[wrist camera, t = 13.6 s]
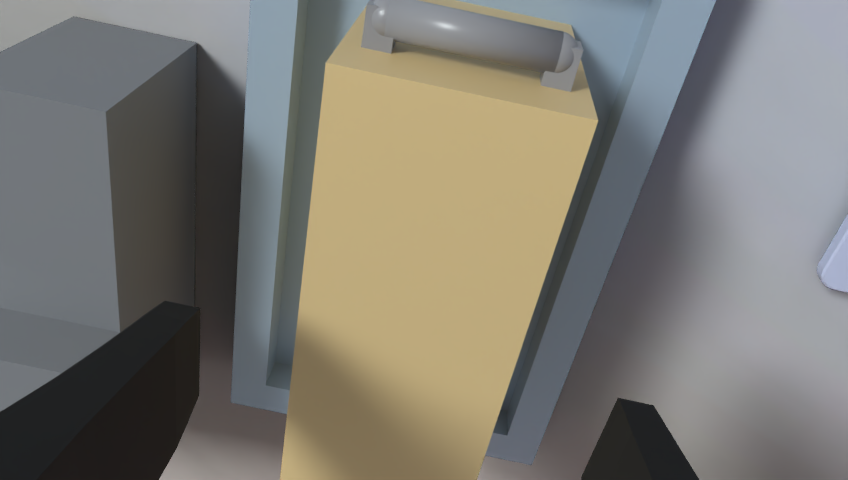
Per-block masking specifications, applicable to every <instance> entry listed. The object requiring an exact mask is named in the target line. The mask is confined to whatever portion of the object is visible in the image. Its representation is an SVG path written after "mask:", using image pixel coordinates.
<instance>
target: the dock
mask: <svg viewBox="0 0 848 480" xmlns="http://www.w3.org/2000/svg"><path fill="white" fill-rule="evenodd" d="M196 61H197V43H195V42H191V41H186V40H181V39H177V38H172V37H167V36H162V35H158V34H153V33H148V32H144V31H139V30H134V29H130V28H125V27H120V26H116V25H111V24H106V23H101V22H97V21H92V20H87V19H83V18H78V17H72V18H70V19H67V20H65V21H63V22H61V23H59V24H57V25H55V26H53V27H51V28H49V29H47V30H45V31H43V32H41V33H39V34H36V35H34V36H32V37H30V38H28V39H26V40H24V41H22V42H20V43H18V44H16V45H14V46H12V47H10V48H7V49H5V50H3V51H1V52H0V411H2V410H4V409H5V408H7V407H9V406H10V405H12V404H13V403H15V402H17V401H18V400H20V399H22V398H23V397H25V396H26V395H28V394H30V393H31V392H33V391H34V390H36V389H38V388H39V387H41V386H42V385H44V384H46V383H47V382H49V381H50V380H52V379H53V378H55V377H57V376H58V375H60V374H61V373H63V372H64V371H65V370H67V369H68V368H70V367H71V366H73V365H74V364H76V363H77V362H79V361H80V360H82V359H83V358H84V357H86V356H87V355H89V354H90V353H92V352H93V351H95V350H96V349H98V348H99V347H100V346H102V345H103V344H105V343H106V342H107V341H109V340H110V339H112V338H113V337H114V336H116V335H117V334H119V333H120V332H121V331H123V330H124V329H125V328H127V327H128V326H130V325H131V324H132V323H134V322H135V321H136V320H138V319H139V318H141V317H142V316H143V315H145V314H146V313H147V312H149V311H150V310H152V309H153V308H154V307H156V306H157V305H159V304H160V303H162V302H164V301H169V302H174V303H178V304H183V305H188V306H192V307H194V286H195V174H196Z"/></svg>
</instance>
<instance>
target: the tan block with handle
mask: <svg viewBox="0 0 848 480" xmlns="http://www.w3.org/2000/svg"><path fill="white" fill-rule="evenodd" d="M582 53H583V47H582V44H581V41H576V40H575V37H574V33H573V30H572V26H571V25H569V24H565V23H560V22H555V21H551V20H546V19H541V18H537V17H532V16H527V15H523V14H518V13H513V12H509V11H504V10H499V9H495V8H490V7H485V6H481V5H476V4H471V3H467V2H462V1H457V0H369V2H368V3H367V5H366V7H365V8H364V10H363V11H362V12H361V14H360V15H359V17H358V18H357V19H356V21H355V22H354V24H353V25H352V26H351V28H350V29H349V31H348V32H347V34H346V35H345V36H344V38H343V39H342V41H341V42H340V43H339V45H338V46H337V48H336V49H335V50H334V52H333V53H332V55H331V56H330V57H329V59H328V60H327V62H326V65H325V74H324V83H323V92H322V101H321V110H320V119H319V128H318V137H317V147H316V156H315V165H314V174H313V183H312V192H311V201H310V210H309V219H308V228H307V238H306V247H305V256H304V265H303V274H302V283H301V292H300V301H299V310H298V319H297V329H296V338H295V347H294V356H293V365H292V374H291V383H290V392H289V401H288V410H287V419H286V429H285V438H284V447H283V456H282V465H281V474H280V480H477V477H478V475H479V472H480V469H481V466H482V463H483V460H484V457H485V454H486V451H487V448H488V445H489V442H490V439H491V436H492V433H493V430H494V427H495V424H496V421H497V418H498V416H499V413H500V410H501V407H502V404H503V401H504V398H505V395H506V392H507V389H508V386H509V383H510V380H511V377H512V374H513V371H514V368H515V365H516V362H517V359H518V357H519V354H520V351H521V348H522V345H523V342H524V339H525V336H526V333H527V330H528V327H529V324H530V321H531V318H532V315H533V312H534V309H535V306H536V303H537V300H538V298H539V295H540V292H541V289H542V286H543V283H544V280H545V277H546V274H547V271H548V268H549V265H550V262H551V259H552V256H553V253H554V250H555V247H556V244H557V241H558V239H559V236H560V233H561V230H562V227H563V224H564V221H565V218H566V215H567V212H568V209H569V206H570V203H571V200H572V197H573V194H574V191H575V188H576V185H577V182H578V180H579V177H580V174H581V171H582V168H583V165H584V162H585V159H586V156H587V153H588V150H589V147H590V144H591V141H592V138H593V135H594V132H595V129H596V126H597V123H598V117H597V114H596V110H595V107H594V103H593V100H592V96H591V93H590V89H589V86H588V82H587V79H586V75H585V72H584V68H583V65H582V61H581V57H582Z"/></svg>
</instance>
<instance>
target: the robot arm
mask: <svg viewBox="0 0 848 480" xmlns="http://www.w3.org/2000/svg"><path fill="white" fill-rule="evenodd" d="M817 274H818V277H819V278H820V280H821V281H822V283H823V284H824V285H825V286H826V287H828V288H830V289H833V290H837V291H842V292H847V293H848V214H847V216H846V218H845V220H844V221H843V223H842V225H841V226H840V228H839V230H838V231H837V233H836V235H835V237H834V238H833V240H832V242H831V243H830V245H829V247H828V248H827V250H826V252H825V254H824V255H823V257H822V259H821V260H820V262H819V264H818V267H817ZM199 363H200V308H197V307H192V306H188V305H183V304H178V303H174V302H169V301H164V302H162V303H160V304H159V305H157V306H156V307H154V308H153V309H152V310H150V311H149V312H147V313H146V314H145V315H143V316H142V317H141V318H139V319H138V320H136V321H135V322H134V323H132V324H131V325H130V326H128V327H127V328H125V329H124V330H123V331H121V332H120V333H119V334H117V335H116V336H114V337H113V338H112V339H110V340H109V341H107V342H106V343H105V344H103V345H102V346H100V347H99V348H98V349H96V350H95V351H93V352H92V353H90V354H89V355H87V356H86V357H84V358H83V359H82V360H80V361H79V362H77V363H76V364H74V365H73V366H71V367H70V368H68V369H67V370H65V371H64V372H63V373H61V374H60V375H58V376H57V377H55V378H53V379H52V380H50V381H49V382H47V383H46V384H44V385H42V386H41V387H39V388H38V389H36V390H34V391H33V392H31V393H30V394H28V395H26V396H25V397H23V398H22V399H20V400H18V401H17V402H15V403H13V404H12V405H10V406H9V407H7V408H5V409H4V410H2V411H0V480H159V478H160V476H161V475H162V473H163V471H164V469H165V468H166V466H167V464H168V462H169V461H170V459H171V457H172V455H173V453H174V452H175V450H176V448H177V446H178V443H179V441H180V439H181V437H182V434H183V432H184V430H185V428H186V425H187V423H188V420H189V418H190V416H191V413H192V411H193V408H194V406H195V404H196V401H197V399H198V396H199ZM582 480H699V479H698V477H697V475H696V474H695V472H694V471H693V469H692V467H691V466H690V464H689V462H688V461H687V459H686V458H685V456H684V454H683V453H682V451H681V450H680V448H679V446H678V445H677V443H676V441H675V440H674V438H673V436H672V435H671V433H670V432H669V430H668V428H667V427H666V425H665V423H664V422H663V420H662V418H661V417H660V415H659V414H658V412H657V410H656V409H655V407H654V406H653V405H649V404H644V403H639V402H635V401H630V400H625V399H621V398H618V399H617V401H616V403H615V406H614V408H613V410H612V412H611V414H610V416H609V419H608V421H607V423H606V425H605V427H604V429H603V432H602V434H601V436H600V438H599V440H598V442H597V445H596V447H595V449H594V451H593V453H592V455H591V458H590V460H589V462H588V464H587V466H586V468H585V471H584V473H583V475H582Z"/></svg>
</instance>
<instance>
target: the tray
mask: <svg viewBox="0 0 848 480" xmlns="http://www.w3.org/2000/svg"><path fill="white" fill-rule="evenodd" d="M457 1H462V2H467V3H471V4H476V5H481V6H485V7H490V8H495V9H499V10H504V11H509V12H513V13H518V14H523V15H527V16H532V17H537V18H541V19H546V20H551V21H555V22H560V23H565V24H569V25H571V26H572V30H573V33H574V37H575V40H576V41H581V44H582V47H583V53H582V57H581V61H582V65H583V68H584V72H585V75H586V79H587V82H588V86H589V89H590V93H591V96H592V100H593V103H594V107H595V110H596V114H597V117H598V123H597V126H596V129H595V132H594V135H593V138H592V141H591V144H590V147H589V150H588V153H587V156H586V159H585V162H584V165H583V168H582V171H581V174H580V177H579V180H578V182H577V185H576V188H575V191H574V194H573V197H572V200H571V203H570V206H569V209H568V212H567V215H566V218H565V221H564V224H563V227H562V230H561V233H560V236H559V239H558V241H557V244H556V247H555V250H554V253H553V256H552V259H551V262H550V265H549V268H548V271H547V274H546V277H545V280H544V283H543V286H542V289H541V292H540V295H539V298H538V300H537V303H536V306H535V309H534V312H533V315H532V318H531V321H530V324H529V327H528V330H527V333H526V336H525V339H524V342H523V345H522V348H521V351H520V354H519V357H518V359H517V362H516V365H515V368H514V371H513V374H512V377H511V380H510V383H509V386H508V389H507V392H506V395H505V398H504V401H503V404H502V407H501V410H500V413H499V416H498V418H497V421H496V424H495V427H494V430H493V433H492V436H491V439H490V442H489V445H488V448H487V451H486V454H485V456H490V457H495V458H499V459H504V460H509V461H514V462H519V463H523V464H528V465H532V463H533V461H534V458H535V456H536V453H537V451H538V448H539V446H540V443H541V441H542V438H543V436H544V433H545V431H546V428H547V425H548V423H549V420H550V418H551V415H552V413H553V410H554V408H555V405H556V403H557V400H558V398H559V395H560V393H561V390H562V388H563V385H564V383H565V380H566V378H567V375H568V373H569V370H570V367H571V365H572V362H573V360H574V357H575V355H576V352H577V350H578V347H579V345H580V342H581V340H582V337H583V335H584V332H585V330H586V327H587V325H588V322H589V320H590V317H591V315H592V312H593V309H594V307H595V304H596V302H597V299H598V297H599V294H600V292H601V289H602V287H603V284H604V282H605V279H606V277H607V274H608V272H609V269H610V267H611V264H612V262H613V259H614V257H615V254H616V251H617V249H618V246H619V244H620V241H621V239H622V236H623V234H624V231H625V229H626V226H627V224H628V221H629V219H630V216H631V214H632V211H633V209H634V206H635V204H636V201H637V199H638V196H639V193H640V191H641V188H642V186H643V183H644V181H645V178H646V176H647V173H648V171H649V168H650V166H651V163H652V161H653V158H654V156H655V153H656V151H657V148H658V146H659V143H660V141H661V138H662V135H663V133H664V130H665V128H666V125H667V123H668V120H669V118H670V115H671V113H672V110H673V108H674V105H675V103H676V100H677V98H678V95H679V93H680V90H681V88H682V85H683V83H684V80H685V77H686V75H687V72H688V70H689V67H690V65H691V62H692V60H693V57H694V55H695V52H696V50H697V47H698V45H699V42H700V40H701V37H702V35H703V32H704V30H705V27H706V25H707V22H708V19H709V17H710V14H711V12H712V9H713V7H714V4H715V2H716V0H457ZM368 2H369V0H250V17H249V38H248V58H247V79H246V99H245V120H244V140H243V161H242V181H241V202H240V223H239V243H238V264H237V284H236V305H235V325H234V346H233V366H232V387H231V403H235V404H240V405H245V406H250V407H254V408H259V409H264V410H269V411H274V412H278V413H283V414H287V410H288V401H289V392H290V383H291V374H292V365H293V356H294V347H295V338H296V329H297V319H298V310H299V301H300V292H301V283H302V274H303V265H304V256H305V247H306V238H307V228H308V219H309V210H310V201H311V192H312V183H313V174H314V165H315V156H316V147H317V137H318V128H319V119H320V110H321V101H322V92H323V83H324V74H325V65H326V62H327V60H328V59H329V57H330V56H331V55H332V53H333V52H334V50H335V49H336V48H337V46H338V45H339V43H340V42H341V41H342V39H343V38H344V36H345V35H346V34H347V32H348V31H349V29H350V28H351V26H352V25H353V24H354V22H355V21H356V19H357V18H358V17H359V15H360V14H361V12H362V11H363V10H364V8H365V7H366V5H367V3H368Z"/></svg>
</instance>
